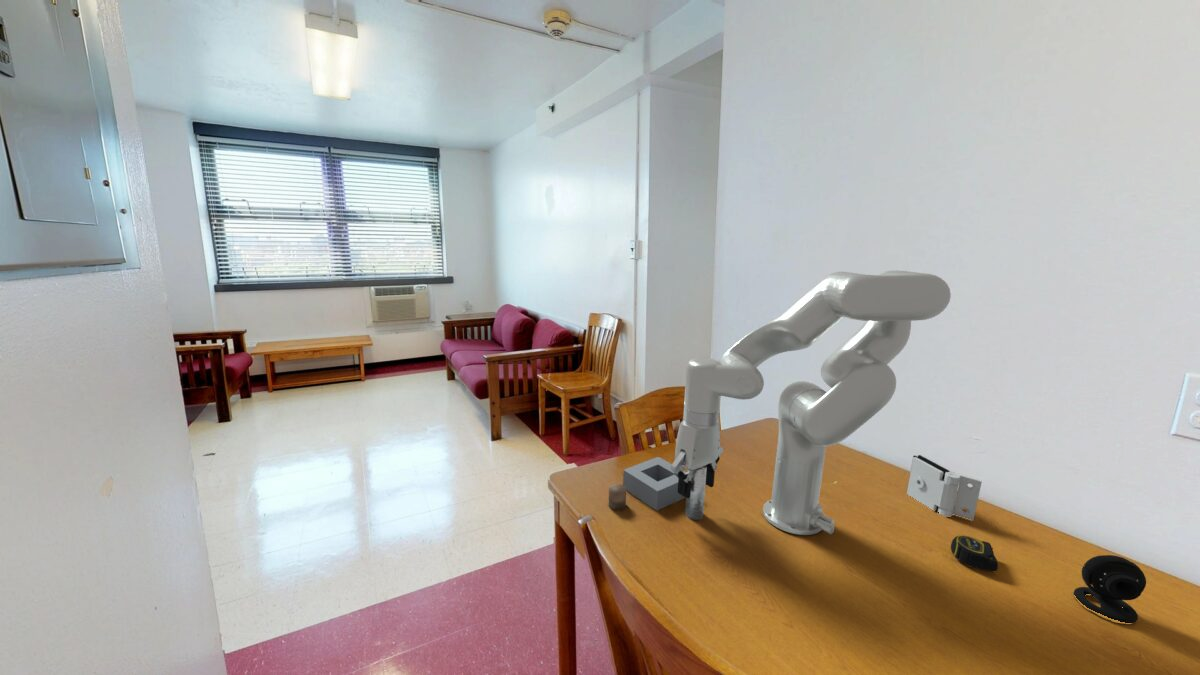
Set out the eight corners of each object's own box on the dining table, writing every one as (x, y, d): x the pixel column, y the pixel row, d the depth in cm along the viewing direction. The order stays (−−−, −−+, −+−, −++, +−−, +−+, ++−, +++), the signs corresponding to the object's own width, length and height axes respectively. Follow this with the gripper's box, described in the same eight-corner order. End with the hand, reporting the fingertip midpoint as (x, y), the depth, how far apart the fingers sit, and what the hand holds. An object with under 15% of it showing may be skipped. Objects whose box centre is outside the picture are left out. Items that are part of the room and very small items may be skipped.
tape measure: (996, 579, 85) (1000, 561, 84) (950, 564, 88) (954, 547, 87) (990, 558, 90) (994, 541, 89) (947, 545, 94) (951, 529, 93)
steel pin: (706, 515, 102) (710, 467, 100) (695, 522, 100) (698, 472, 97) (693, 507, 105) (696, 460, 103) (681, 513, 103) (684, 465, 100)
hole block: (691, 494, 111) (693, 475, 110) (656, 510, 104) (657, 491, 102) (657, 474, 120) (658, 456, 119) (622, 488, 113) (623, 469, 112)
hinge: (975, 521, 102) (983, 481, 100) (960, 526, 100) (969, 485, 98) (913, 490, 115) (919, 453, 112) (899, 494, 113) (905, 457, 110)
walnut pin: (629, 506, 105) (629, 489, 104) (615, 512, 103) (616, 494, 102) (618, 498, 108) (618, 481, 107) (605, 504, 106) (605, 487, 105)
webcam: (1088, 617, 76) (1103, 566, 74) (1062, 586, 83) (1075, 538, 81) (1150, 632, 73) (1168, 579, 71) (1118, 598, 80) (1133, 549, 78)
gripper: (713, 402, 106) (707, 471, 109) (660, 418, 95) (656, 494, 99) (740, 412, 100) (733, 485, 103) (686, 430, 89) (681, 511, 93)
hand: (695, 489), depth 101 cm, fingers open, 7 cm apart
